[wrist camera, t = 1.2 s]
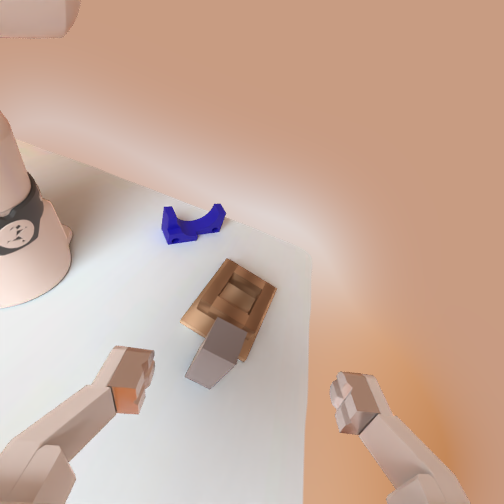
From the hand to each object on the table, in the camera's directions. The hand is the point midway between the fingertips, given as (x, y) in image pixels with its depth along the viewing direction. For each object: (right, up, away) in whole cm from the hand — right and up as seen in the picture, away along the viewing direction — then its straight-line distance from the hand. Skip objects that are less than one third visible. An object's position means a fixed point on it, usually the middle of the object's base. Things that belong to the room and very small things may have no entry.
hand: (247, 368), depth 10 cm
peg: (-7, -12, +25) cm, 28 cm away
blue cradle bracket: (-13, +9, +41) cm, 44 cm away
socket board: (-3, -5, +33) cm, 34 cm away
